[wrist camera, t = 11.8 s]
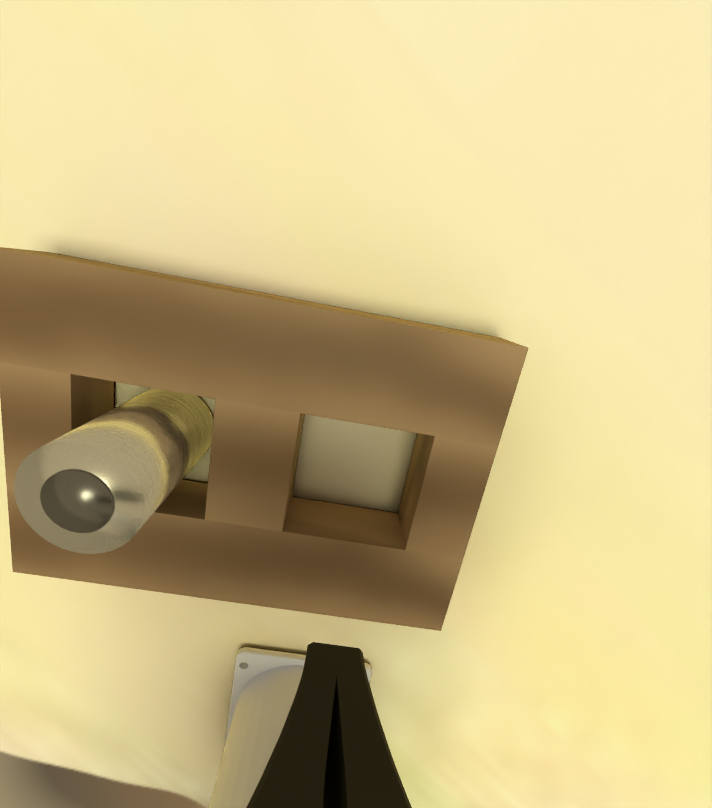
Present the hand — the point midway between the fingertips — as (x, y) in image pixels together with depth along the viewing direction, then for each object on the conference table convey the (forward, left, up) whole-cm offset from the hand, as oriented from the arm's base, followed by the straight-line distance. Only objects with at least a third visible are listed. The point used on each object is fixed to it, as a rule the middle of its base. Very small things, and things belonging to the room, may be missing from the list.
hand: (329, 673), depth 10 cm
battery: (+2, +9, -10) cm, 14 cm away
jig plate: (+2, +4, -10) cm, 11 cm away
